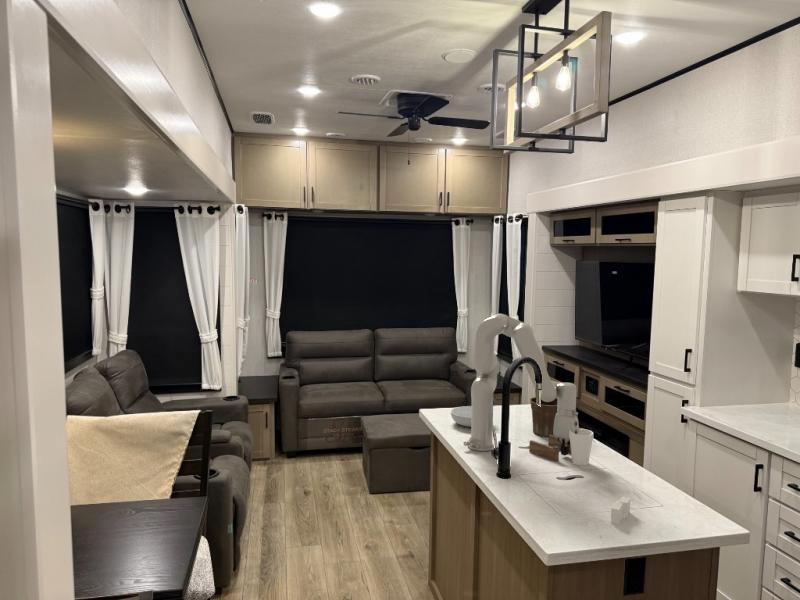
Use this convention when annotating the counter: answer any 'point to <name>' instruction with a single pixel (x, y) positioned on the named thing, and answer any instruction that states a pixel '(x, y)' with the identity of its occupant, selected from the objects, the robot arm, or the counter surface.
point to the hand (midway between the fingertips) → (564, 454)
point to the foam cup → (581, 446)
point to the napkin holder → (620, 510)
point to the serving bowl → (462, 415)
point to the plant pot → (543, 417)
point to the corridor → (547, 448)
